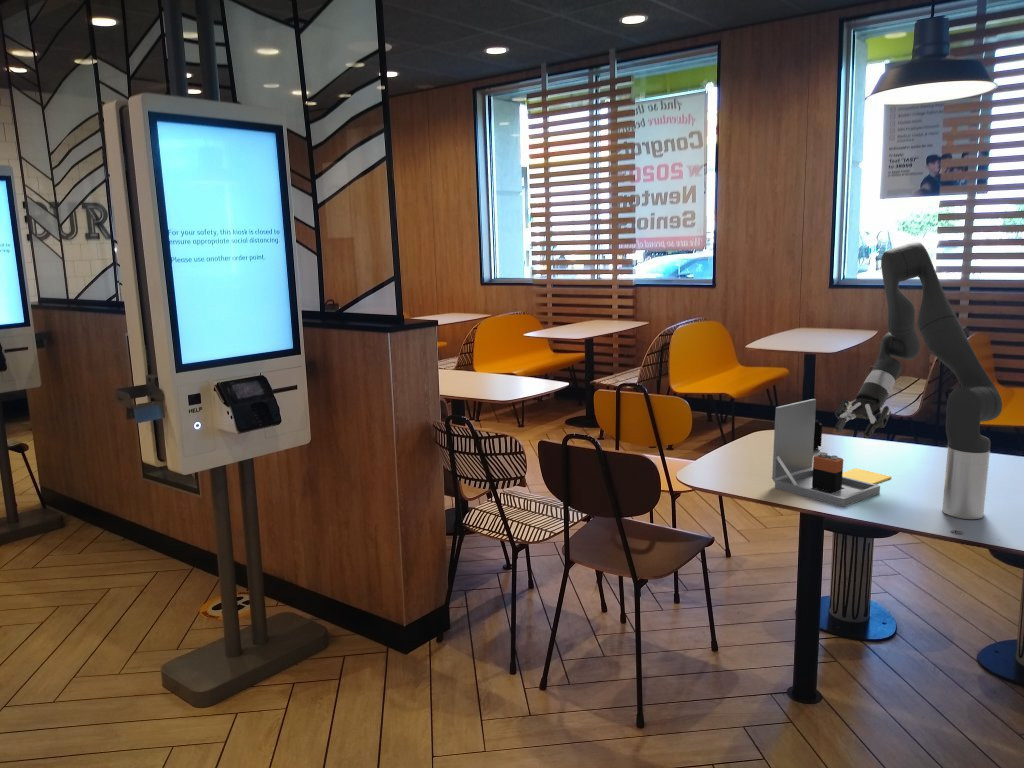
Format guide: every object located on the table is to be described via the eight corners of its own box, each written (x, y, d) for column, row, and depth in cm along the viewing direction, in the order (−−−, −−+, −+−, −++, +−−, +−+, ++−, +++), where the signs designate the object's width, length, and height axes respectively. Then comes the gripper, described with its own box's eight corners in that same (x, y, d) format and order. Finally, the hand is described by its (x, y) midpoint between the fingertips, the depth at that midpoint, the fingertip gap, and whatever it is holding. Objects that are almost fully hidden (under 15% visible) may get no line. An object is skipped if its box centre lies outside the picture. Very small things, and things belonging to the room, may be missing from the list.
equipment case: (808, 475, 237) (813, 398, 233) (879, 493, 220) (885, 411, 216) (771, 486, 227) (775, 407, 222) (843, 507, 209) (848, 421, 205)
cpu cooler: (819, 446, 269) (820, 416, 267) (823, 450, 264) (824, 420, 262) (787, 445, 271) (788, 416, 269) (790, 449, 265) (792, 420, 263)
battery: (819, 484, 227) (821, 450, 225) (842, 490, 222) (844, 455, 220) (811, 487, 224) (813, 453, 222) (833, 493, 219) (836, 458, 217)
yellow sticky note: (856, 470, 242) (856, 468, 241) (891, 478, 233) (891, 476, 233) (835, 476, 235) (835, 474, 235) (871, 485, 226) (871, 483, 226)
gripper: (848, 377, 235) (824, 421, 230) (896, 384, 224) (871, 430, 219) (857, 393, 239) (833, 436, 234) (904, 400, 228) (879, 446, 223)
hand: (851, 433), depth 227 cm, fingers open, 8 cm apart
